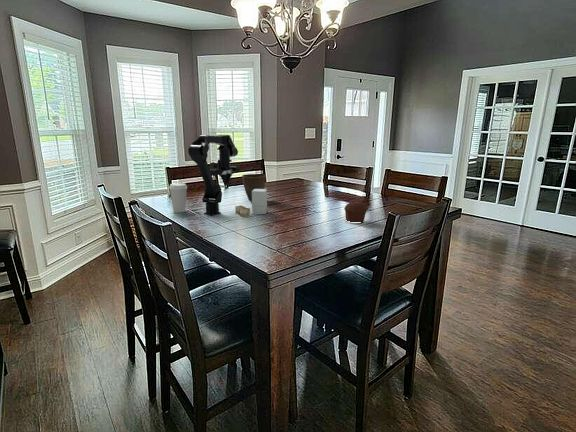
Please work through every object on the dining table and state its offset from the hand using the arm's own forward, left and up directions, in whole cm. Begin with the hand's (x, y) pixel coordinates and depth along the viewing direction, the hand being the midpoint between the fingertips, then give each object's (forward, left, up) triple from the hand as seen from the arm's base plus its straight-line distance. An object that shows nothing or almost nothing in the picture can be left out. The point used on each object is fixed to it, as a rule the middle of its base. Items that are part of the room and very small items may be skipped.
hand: (225, 185), depth 193 cm
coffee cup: (-21, +15, -13) cm, 29 cm away
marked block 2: (-7, -20, -13) cm, 25 cm away
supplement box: (+3, -22, -13) cm, 26 cm away
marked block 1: (-5, -15, -13) cm, 21 cm away
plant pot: (+26, 0, -13) cm, 29 cm away
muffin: (+17, -72, -13) cm, 75 cm away
